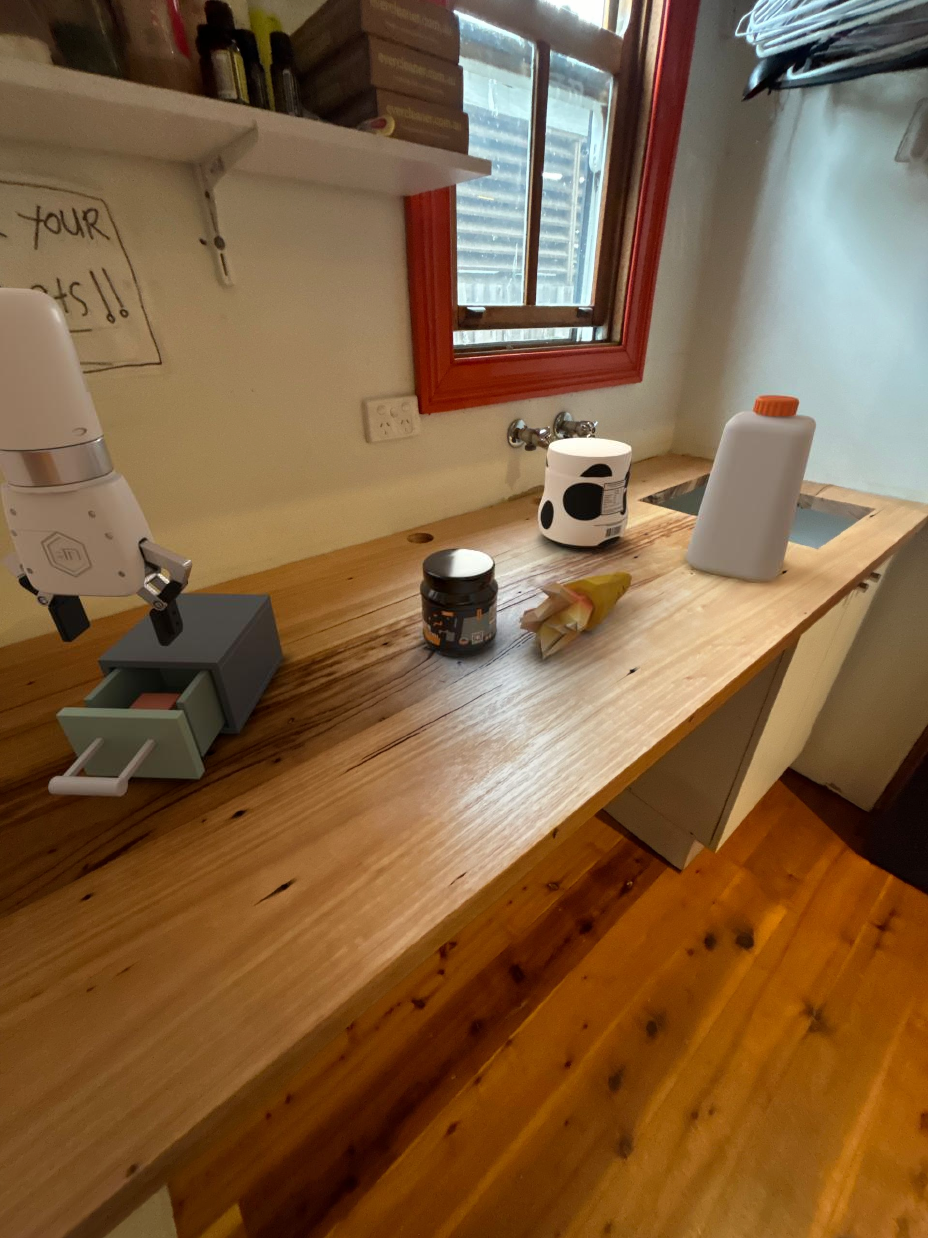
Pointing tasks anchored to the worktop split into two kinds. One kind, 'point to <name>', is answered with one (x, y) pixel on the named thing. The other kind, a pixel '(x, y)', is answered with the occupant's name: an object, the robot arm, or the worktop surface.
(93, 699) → the drawer
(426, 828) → the worktop surface
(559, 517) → the milk container
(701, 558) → the plastic bottle
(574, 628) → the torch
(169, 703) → the block
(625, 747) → the worktop surface
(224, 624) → the cabinet
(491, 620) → the supplement container
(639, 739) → the worktop surface
